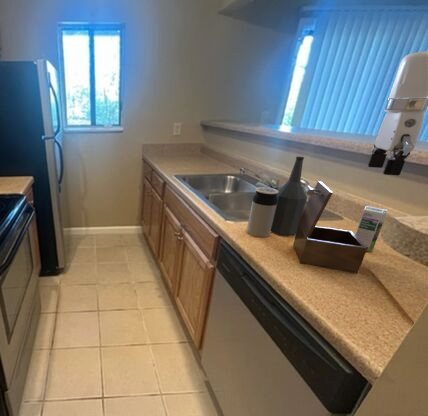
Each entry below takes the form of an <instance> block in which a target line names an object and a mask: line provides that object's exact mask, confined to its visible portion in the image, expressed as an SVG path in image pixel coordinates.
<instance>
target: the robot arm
mask: <svg viewBox="0 0 428 416" xmlns="http://www.w3.org/2000/svg"><path fill="white" fill-rule="evenodd" d="M427 109H428V50H426V51H425V50H424V51H417V52H416V51H415V52H412V53H409V54H406V55H405V56H404V57H403V58H402V59H401V61H400V63H399V66H398V68H397V72H396V75H395V78H394V80H393V83H392V86H391V90H390V93H389V96H388V99H387V101H386V104H385V107H384V111H383V112H384V113H385V114H384V117H383V119H382V122H381V124H380V127H379V129H378V131H377V135H376V137H375V141H374V144H373V149H372V150H371V154H370V158H369V161H368V164H367V167H369V168H378V169H382V168H383V167H384V169H383V171H382V174H383V175H385V176H397V177H398V176H400V175H401V174H402V170H403V168H404V165H405V162H406V161H407V160H408V157H409V156H410V155H411V152H413V151H414V150H415V148H416V145H417V142H418V139H419V137H420V133H421V130H422V127H423V123H424V118H425V113H426V112H427ZM387 152H389V154H390V156H389V159H387V156H388V154H387ZM386 159H387V161H386ZM385 161H386V164H385ZM384 165H385V166H384Z"/></svg>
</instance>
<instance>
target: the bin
mask: <svg viewBox="0 0 428 416" xmlns="http://www.w3.org/2000/svg"><path fill="white" fill-rule="evenodd" d="M292 247H293V250H294V253H295V255H296V257H297V260H298V263H299V264H300V265H305V266H306V265H307V266H311V267H316V268H322V269H328V270H333V271H337V272H345V273H350V274H356V275H358V274H359V272H360V268H361V266H362V264H363V260H364V258H365V255H366V253H367V251H366V250H367V248H366V246H365V245H364V244H363V243H362V242H361V241H360V240H359V239H358V238H357V237H356V235H355V233H354V232H353V231H352V230H347V229H339V228H332V227H325V226H317V225H316V226H315V228H314V229H313V231H312V233H311V235H310V237H309V238H306V237H305V235H304V233H303V231H302V229H301V227H300V226H299V225H298V228H297V232H296V234H295V235H294V239H293V244H292Z"/></svg>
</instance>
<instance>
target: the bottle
mask: <svg viewBox="0 0 428 416" xmlns="http://www.w3.org/2000/svg"><path fill="white" fill-rule="evenodd" d="M304 159H305V157H304V156H299V155H298V156H296V157H295V161H294V165H293V167H292V169H291V172H290V174H289V177H288V179H287V181H286V182H285V183H284V184H283V185H281V187H280V188H279V189H277V190H278V193H277V196H276V197H277V205H276V209H275V213H274V217H273V222H272V226H271V230H270V233H273V234H274V235H275V234H276V235H278V236H283V237H295V236H296V232H297V228H298V225H299V224H298V221H299V219H300V217H301V215H302V213H303V211H304V209H305V207H306V205H307V200H308V197H307V193H306V192H305V190H304V189H303V188H304V186H303V185H302V184H301V180H302V179H301V178H302V171H303V165H304V164H303V163H304Z"/></svg>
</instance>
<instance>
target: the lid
mask: <svg viewBox="0 0 428 416" xmlns="http://www.w3.org/2000/svg"><path fill="white" fill-rule="evenodd" d="M303 190H304V192H305V194H306V195H308V196H310V197H309V198H308V201H307V202H306V204H305V207H304V211H303V213H302V215H301V217H300V219H299V221H298V224H299V226H300V227H301V229H302V231H303V233H304V235H305V237H306V238H309V237H310V235H311V233H312V231H313V229H314V228H315V226H317V224H318V222H319V220H320V219H321V216H322V215H323V212H324V211H325V209H326V207H327V205H328V203H329V201H330V200H331V197H332V195H333V194H334V192H333V191H332V190H331V189H330V188H329V187H328V186H327V185H326V184H324V183H323V181H320V180H317V182H316V184H315V187H314V188H313V187H311V186H310V185H304V186H303Z"/></svg>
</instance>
